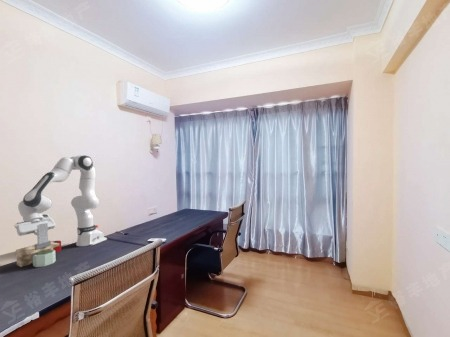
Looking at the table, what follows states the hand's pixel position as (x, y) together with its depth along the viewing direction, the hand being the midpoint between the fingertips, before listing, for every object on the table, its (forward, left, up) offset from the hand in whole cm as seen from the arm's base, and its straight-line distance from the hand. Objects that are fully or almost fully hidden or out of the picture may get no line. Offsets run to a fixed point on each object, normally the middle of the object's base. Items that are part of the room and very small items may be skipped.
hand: (41, 236), depth 149 cm
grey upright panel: (0, +2, -7) cm, 7 cm away
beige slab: (0, -4, -17) cm, 18 cm away
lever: (-11, -16, -18) cm, 26 cm away
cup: (0, +3, -17) cm, 18 cm away
